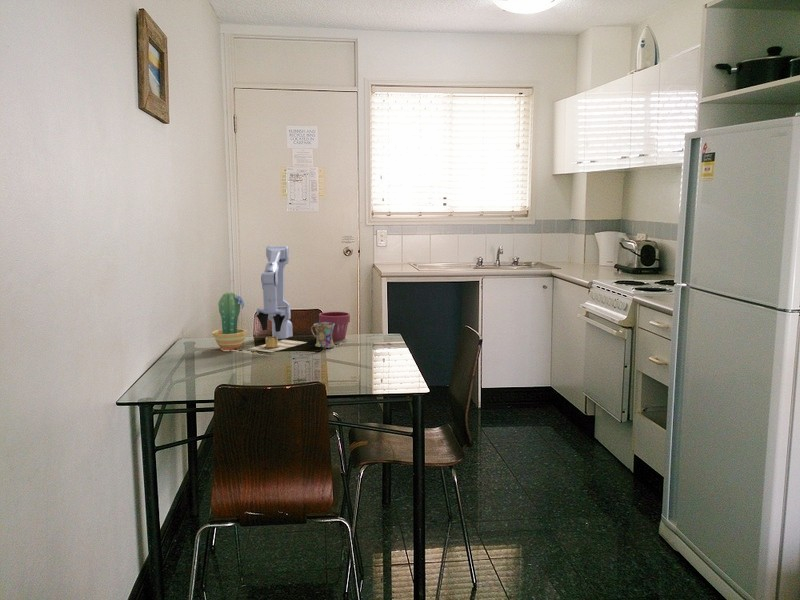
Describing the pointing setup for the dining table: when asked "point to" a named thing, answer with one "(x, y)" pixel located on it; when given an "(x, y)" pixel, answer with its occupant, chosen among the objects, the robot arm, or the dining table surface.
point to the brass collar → (271, 342)
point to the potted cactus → (230, 322)
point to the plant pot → (336, 323)
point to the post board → (281, 345)
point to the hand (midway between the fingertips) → (271, 330)
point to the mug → (324, 334)
